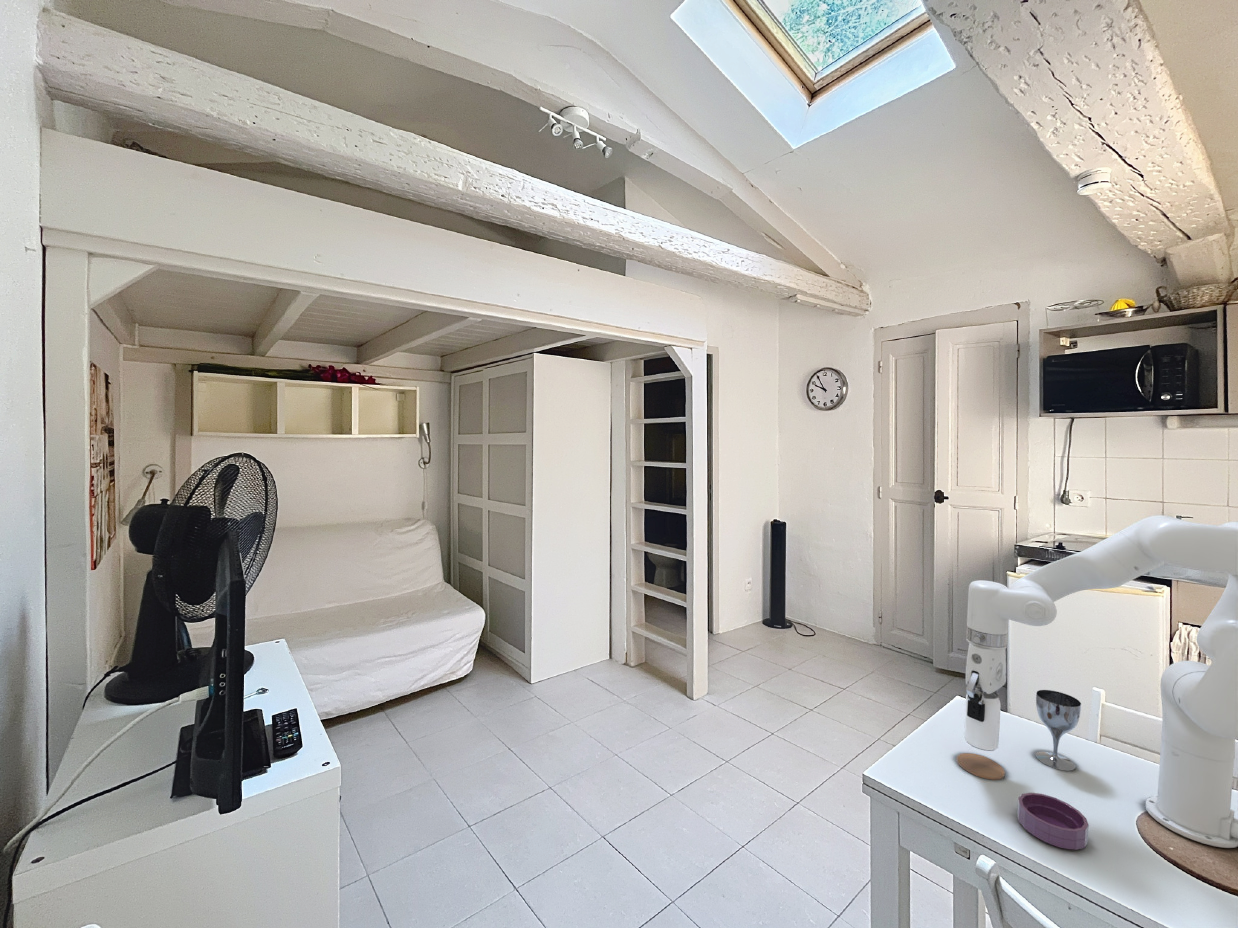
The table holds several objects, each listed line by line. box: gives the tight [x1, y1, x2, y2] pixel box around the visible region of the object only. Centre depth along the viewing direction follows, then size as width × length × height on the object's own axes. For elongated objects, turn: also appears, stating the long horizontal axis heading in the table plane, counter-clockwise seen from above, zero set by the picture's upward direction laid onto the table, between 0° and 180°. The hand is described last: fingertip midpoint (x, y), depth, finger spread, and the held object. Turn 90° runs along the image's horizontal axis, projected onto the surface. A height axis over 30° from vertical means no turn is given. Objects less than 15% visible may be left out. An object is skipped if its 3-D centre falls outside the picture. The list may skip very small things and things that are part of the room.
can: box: [963, 685, 1001, 752], centre depth 119 cm, size 6×6×12 cm
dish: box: [1016, 792, 1090, 851], centre depth 100 cm, size 10×10×4 cm
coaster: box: [956, 752, 1006, 781], centre depth 119 cm, size 9×9×1 cm
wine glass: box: [1034, 689, 1082, 772], centre depth 121 cm, size 8×8×15 cm
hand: (982, 713), depth 119 cm, fingers closed on can, 6 cm apart
